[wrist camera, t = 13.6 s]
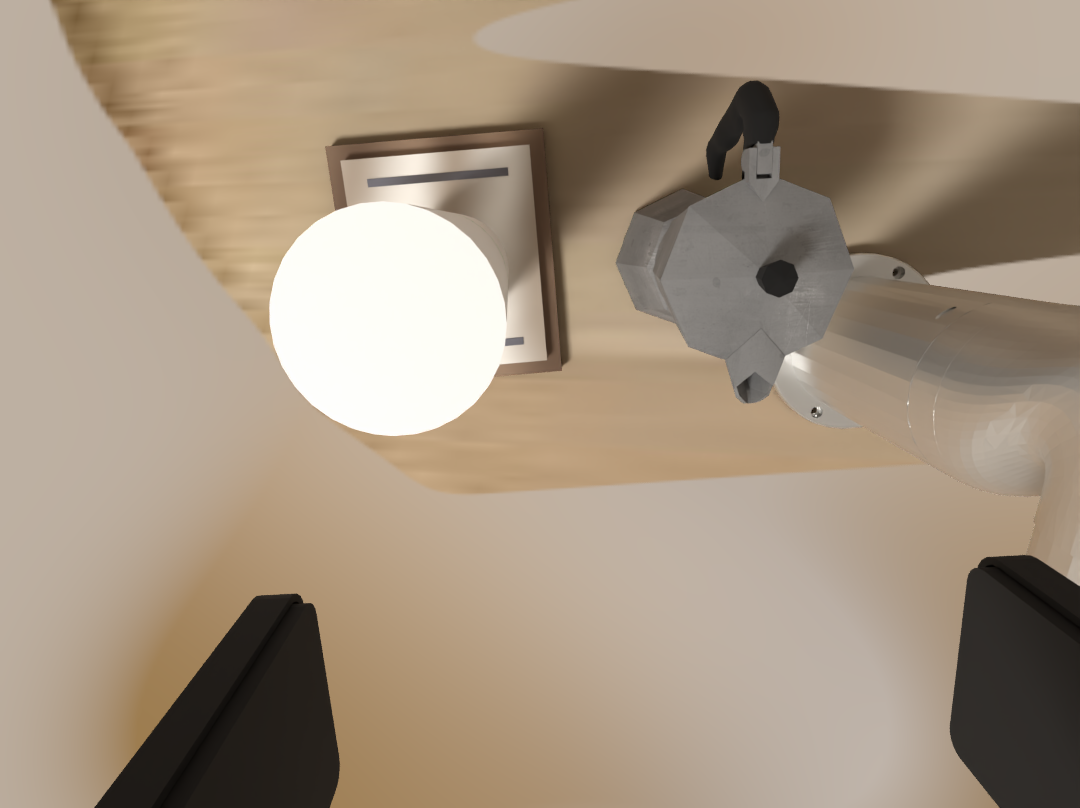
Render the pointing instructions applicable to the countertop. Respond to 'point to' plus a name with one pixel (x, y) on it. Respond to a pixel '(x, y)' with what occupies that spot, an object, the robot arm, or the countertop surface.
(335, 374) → the cylindrical container
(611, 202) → the countertop surface
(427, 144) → the notepad
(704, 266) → the coffeepot
